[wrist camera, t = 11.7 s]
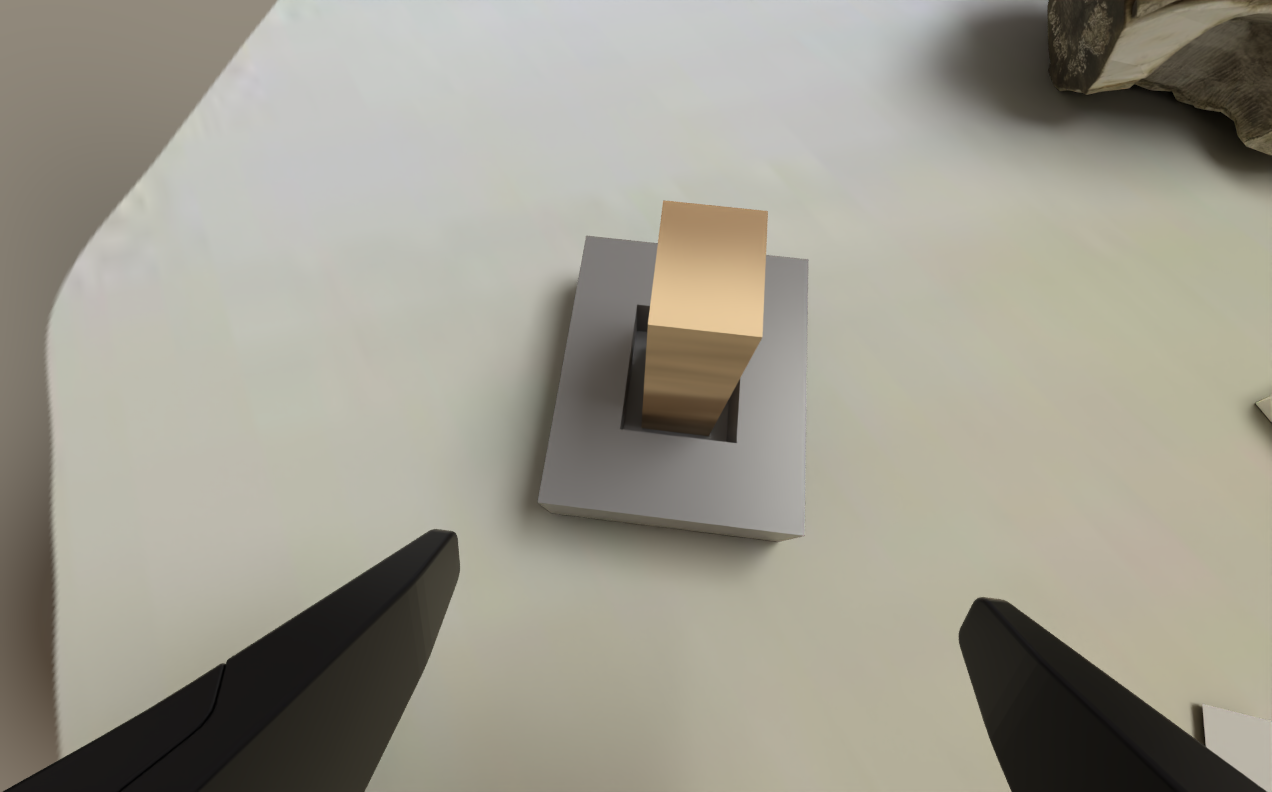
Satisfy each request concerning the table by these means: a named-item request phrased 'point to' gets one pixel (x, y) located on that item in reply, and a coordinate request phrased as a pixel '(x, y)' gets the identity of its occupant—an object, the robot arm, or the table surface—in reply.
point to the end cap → (670, 461)
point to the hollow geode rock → (1171, 54)
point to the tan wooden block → (702, 313)
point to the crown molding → (1241, 742)
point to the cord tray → (1266, 406)
